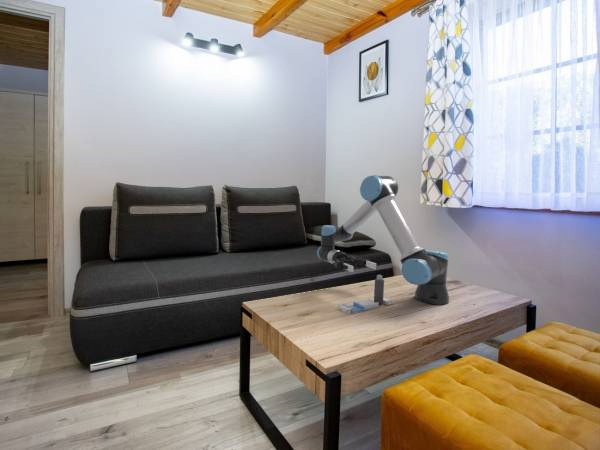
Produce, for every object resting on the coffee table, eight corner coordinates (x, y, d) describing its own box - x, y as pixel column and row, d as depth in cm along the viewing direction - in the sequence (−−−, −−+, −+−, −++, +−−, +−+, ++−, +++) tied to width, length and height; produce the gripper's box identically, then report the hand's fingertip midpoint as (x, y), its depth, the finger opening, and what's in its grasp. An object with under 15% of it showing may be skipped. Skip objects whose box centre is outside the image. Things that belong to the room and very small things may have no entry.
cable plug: (378, 301, 158) (379, 274, 156) (384, 304, 155) (386, 276, 153) (371, 303, 156) (373, 275, 154) (377, 306, 153) (379, 277, 151)
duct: (382, 299, 161) (382, 295, 161) (393, 304, 155) (393, 300, 155) (337, 308, 149) (338, 303, 149) (348, 314, 143) (348, 309, 142)
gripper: (356, 263, 187) (384, 272, 169) (317, 267, 175) (342, 278, 157) (357, 249, 186) (385, 257, 168) (317, 252, 174) (343, 262, 156)
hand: (364, 267), depth 162 cm, fingers open, 13 cm apart
